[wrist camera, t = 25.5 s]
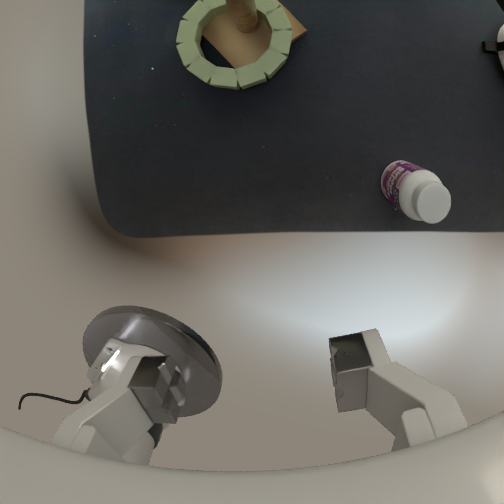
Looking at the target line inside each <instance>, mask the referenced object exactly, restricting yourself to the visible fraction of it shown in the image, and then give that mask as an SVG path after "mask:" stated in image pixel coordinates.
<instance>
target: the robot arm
mask: <svg viewBox="0 0 504 504" xmlns="http://www.w3.org/2000/svg"><path fill="white" fill-rule="evenodd" d="M329 348H330V353H331V358H330V361H331V371H332V378H333V385H334V387H335V396H336V402H337V407H338V412H346V411H352V410H358V409H363V408H366V410H367V411H368V412H369V413H370V414H371V415H372V416H373V417H374V418H376V419H377V420H378V421H379V422H380V423H381V424H382V425H383V426H384V427H385V428H387V429H388V430H389V431H390V432H391V433H392V434H393V435H394V436H395V440H394V444H393V447H392V451H391V452H389V453H385V454H381V455H377V456H372V457H367V458H363V459H358V460H352V461H347V462H342V463H336V464H329V465H322V466H315V467H306V468H297V469H284V470H271V471H270V470H269V471H244V472H243V471H199V470H184V469H172V468H163V467H155V466H148V465H149V462H150V458H151V455H152V451H153V449H154V448H155V447H156V446H157V444H158V442H159V441H160V438H161V433H162V430H163V429H167V428H168V427H169V425H170V424H171V423H172V424H176V422H177V418H178V415H179V412H180V407H179V406H181V405H183V404H184V402H185V396H184V395H185V382H184V377H183V374H182V372H181V371H180V369H179V368H178V366H177V363H176V362H175V360H174V358H173V357H172V356H170V355H168V356H165V355H164V354H162V353H160V352H159V351H157V350H155V349H152V348H150V347H147V346H143V345H137V344H127V343H124V342H121V341H119V340H116V339H112V338H111V339H109V340H108V341H107V343H106V344H105V346H104V347H103V349H102V350H101V352H100V353H99V355H98V356H97V358H96V359H95V361H94V362H93V364H92V365H91V367H90V369H89V370H88V372H87V376H88V378H89V380H90V381H91V383H92V384H93V385H92V387H91V388H88V390H84V392H83V393H82V396H81V398H80V399H79V400H78V401H69V400H65V399H62V398H58V397H53V396H49V395H45V394H38V393H27V394H25V395H23V396H22V397H21V399H20V402H19V407H18V409H19V410H20V408H21V403H22V401H23V399H24V398H25V397H27V396H41V397H46V398H50V399H54V400H59V401H62V402H65V403H69V404H79V403H81V402H82V400H83V399H84V397H86V399H88V400H89V401H90V402H88V403H87V404H85V405H84V406H83V407H81V408H80V409H78V410H77V411H75V412H74V413H72V414H71V415H69V416H68V417H67V418H65V419H64V420H63V421H62V423H61V425H60V427H59V428H58V430H57V432H56V434H55V435H54V437H53V439H52V441H51V443H50V444H49V443H46V442H43V441H40V440H37V439H34V438H31V437H29V436H26V435H23V434H20V433H18V432H15V431H13V430H10V429H8V428H5V427H3V426H1V425H0V504H504V411H503V412H500V413H499V414H496V415H494V416H492V417H490V418H488V419H485V420H483V421H481V422H479V423H476V424H474V425H471V426H468V424H467V422H466V420H465V417H464V415H463V413H462V411H461V409H460V407H459V405H458V403H457V401H456V399H455V397H454V395H453V394H451V393H449V392H448V391H446V390H444V389H442V388H440V387H439V386H437V385H435V384H433V383H432V382H430V381H428V380H426V379H425V378H423V377H421V376H419V375H418V374H416V373H414V372H413V371H411V370H409V369H407V368H406V367H404V366H402V365H400V364H398V363H397V362H393V363H391V361H390V358H389V356H388V354H387V351H386V349H385V346H384V344H383V341H382V339H381V337H380V334H379V332H378V330H377V329H372V330H367V331H362V332H359V333H354V334H349V335H344V336H338V337H333V338H329Z"/></svg>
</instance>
